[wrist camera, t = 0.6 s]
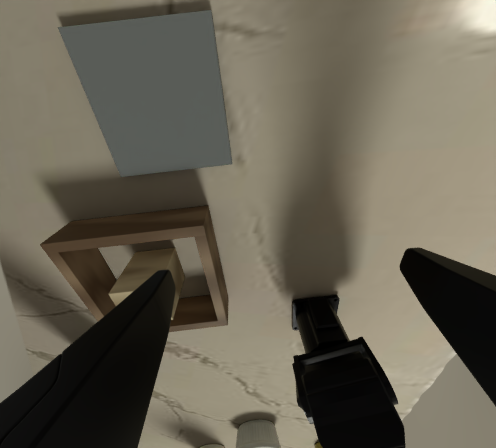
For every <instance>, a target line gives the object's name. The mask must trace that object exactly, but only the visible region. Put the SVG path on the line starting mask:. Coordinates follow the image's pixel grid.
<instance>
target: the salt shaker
mask: <svg viewBox="0 0 496 448" xmlns="http://www.w3.org/2000/svg"><path fill="white" fill-rule="evenodd" d="M315 448H322V446H321V445H320V442H318V443H316V444H315Z"/></svg>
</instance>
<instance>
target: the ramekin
mask: <svg viewBox="0 0 496 448" xmlns="http://www.w3.org/2000/svg"><path fill="white" fill-rule="evenodd" d="M236 448H281V446H280V444H279V440H278V436H277V432H276V428H275V426H274V424H273V423H272V422H270V421H268V420H252V421H248V422H245V423H243V424H241V425H240V427H239V429H238V432H237V441H236Z"/></svg>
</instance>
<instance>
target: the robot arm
mask: <svg viewBox="0 0 496 448" xmlns="http://www.w3.org/2000/svg"><path fill="white" fill-rule="evenodd" d="M400 270H401V272H402V274H403V276H404V277H405V279H406V281H407V282H408V284H409V286H410V287H411V289H412V291H413V292H414V294H415V296H416V297H417V299H418V300H419V302H420V304H421V305H422V307H423V308H424V310H425V311H426V313H427V314H428V315H429V317H430V318H431V319H432V321H433V322H434V323H435V325H436V326H437V327H438V329H439V330H440V332H441V333H442V334H443V336H444V337H445V338H446V340H447V341H448V342H449V344H450V345H451V346H452V348H453V349H454V350H455V352H456V353H457V355H458V356H459V357H460V359H461V360H462V361H463V363H464V364H465V365H466V367H467V368H468V369H469V371H470V372H471V373H472V375H473V376H474V378H475V379H476V380H477V382H478V383H479V384H480V386H481V387H482V388H483V390H484V391H485V392H486V394H487V395H488V396H489V398H490V399H491V401H492V402H493V403H494V405H495V406H496V276H495V275H492V274H490V273H487V272H484V271H482V270H479V269H476V268H473V267H471V266H468V265H465V264H463V263H460V262H457V261H454V260H452V259H449V258H446V257H444V256H441V255H438V254H436V253H433V252H430V251H427V250H425V249H422V248H409V249H407V250H406V251H405V253H404V255H403V258H402V260H401V263H400ZM175 291H176V287H175V283H174V280H173V277H172V274H171V271H170V270H168V269H167V270H158V271H157V272H155V273H154V274H153V275H152V276H151V277H150V278H148V279H147V280H146V281H145V282H144V283H143V284H141V285H140V286H139V287H138V288H137V289H136V290H134V291H133V292H132V293H131V294H130V295H129V296H127V297H126V298H125V299H124V300H123V301H121V302H120V303H119V304H118V305H117V306H116V307H114V308H113V309H112V310H111V311H110V312H109V313H107V314H106V315H105V316H104V317H103V318H102V319H100V320H99V321H98V322H97V323H96V324H95V325H93V326H92V327H91V328H90V329H89V330H88V331H86V332H85V333H84V334H83V335H82V336H81V337H79V338H78V339H77V340H76V341H75V342H73V343H72V344H71V345H70V346H69V347H68V348H66V349H65V350H64V351H63V352H62V354H60V355H58V356H57V357H56V358H55V359H53V360H52V361H51V362H50V363H49V364H48V365H46V366H45V367H44V368H43V369H42V370H40V371H39V372H38V373H37V374H36V375H34V376H33V377H32V378H31V379H30V380H28V381H27V382H26V383H25V384H24V385H22V386H21V387H20V388H19V389H18V390H16V391H15V392H14V393H12V394H11V395H10V396H9V397H7V398H6V399H5V400H4V401H2V402H1V403H0V448H138V444H139V440H140V437H141V433H142V429H143V426H144V422H145V418H146V415H147V411H148V407H149V403H150V400H151V396H152V392H153V389H154V385H155V381H156V378H157V374H158V370H159V367H160V363H161V359H162V356H163V352H164V348H165V345H166V341H167V337H168V333H169V329H170V323H171V317H172V310H173V304H174V298H175ZM338 305H339V297H338V296H337V295H333V296H324V297H316V298H307V299H299V300H294V301H293V302H292V328H293V330H299V332H300V335H301V339H302V342H303V346H304V349H305V353H306V354H302V355H299V356H298V355H295V356H293V357H294V363H293V364H292V365H293V369H294V374H295V379H296V394H297V403H298V406H299V407H300V408H302V409H303V410H304V413H305V415H306V417H307V419H308V421H309V423H310V424H313V423H314V425H315V429H316V432H317V436H318V439H319V442H320V445H321V446H322V448H405V436H404V435H405V433H404V426H403V423H402V421H401V419H400V417H399V415H398V413H397V411H396V409H395V407H394V405H396V404H398V400H397V397H396V395H395V392H394V390H393V388H392V386H391V384H390V382H389V380H388V378H387V376H386V374H385V372H384V371H383V369H382V367H381V366H380V364H379V362H378V361H377V359H376V358H375V356H374V355H373V353H372V351H371V350H370V348H369V347H368V345H367V343H366V342H365V340H364V339H363V337H359V338H358V339H355V340H352V341H350V340H349V338H348V336H347V334H346V332H345V330H344V328H343V326H342V324H341V322H340V320H339V318H338V316H337V310H338Z"/></svg>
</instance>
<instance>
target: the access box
mask: <svg viewBox="0 0 496 448" xmlns="http://www.w3.org/2000/svg"><path fill="white" fill-rule="evenodd" d="M186 237H195V240H196V244H197V247H198V251H199V255H200V258H201V262H202V265H203V269H204V273H205V276H206V280H207V283H208V287H209V290H210V294H211V295H206V296H197V297H189V298H180V299H179V300H178V303H177V307H176V310H175V314H174V318H173V320H171V323H170V329H169V332H174V331H182V330H191V329H199V328H208V327H216V326H225V325H228V294H227V289H226V285H225V280H224V275H223V271H222V266H221V262H220V257H219V252H218V248H217V243H216V239H215V234H214V229H213V225H212V220H211V216H210V211H209V206H208V205H207V206H199V207H190V208H181V209H173V210H164V211H156V212H147V213H138V214H130V215H121V216H113V217H104V218H95V219H87V220H78V221H71V222H70V223H68V224H67V225H66V226H64V227H63V228H62V229H60V230H59V231H58V232H56V233H55V234H53V235H52V236H51V237H49V238H48V239H47V240H45V241H44V242H43V243H41V244H40V246H41V247H42V248H43V250H44V251H45V252H46V253H47V255H48V256H49V257H50V259H51V260H52V261H53V263H54V264H55V265H56V267H57V268H58V269H59V271H60V272H61V273H62V275H63V276H64V277H65V279H66V280H67V281H68V282H69V284H70V285H71V286H72V288H73V289H74V290H75V292H76V293H77V294H78V296H79V297H80V298H81V300H82V301H83V302H84V304H85V305H86V306H87V308H88V309H89V310H90V312H91V313H92V314H93V315H94V317H95V318H96V319H97V321H99V320H100V319H102V318H103V317H104V316H105V315H106V314H107V313H109V312H110V311H111V310H112V309H113V308H114V307H116V305H115V304H114V302H113V301H112V299H111V298H110V296H109V292H110V291H111V289H112V288H113V286H114V285H115V283H116V281H117V280H116V279H115V277H114V275H113V274H112V272H111V270H110V268H109V267H108V265H107V263H106V262H105V260H104V258H103V257H102V255H101V253H100V251H99V250H98V248H101V247H109V246H118V245H126V244H135V243H144V242H152V241H161V240H169V239H178V238H186Z"/></svg>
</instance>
